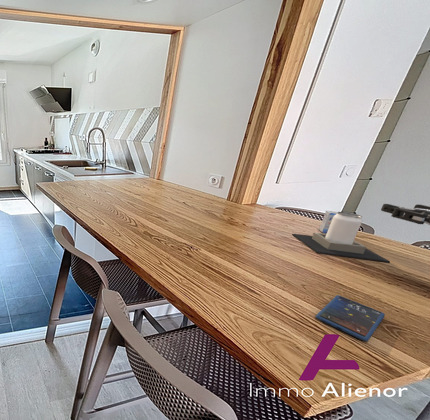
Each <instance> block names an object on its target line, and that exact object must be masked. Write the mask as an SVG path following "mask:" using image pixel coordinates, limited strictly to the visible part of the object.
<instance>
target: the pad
mask: <svg viewBox="0 0 430 420" xmlns="http://www.w3.org/2000/svg"><path fill="white" fill-rule="evenodd" d="M291 236H293V237H294V238H295V239H297V240H298V241H299V242H301V243H303V244H304V245H305V246H307V247H308V248H309V249H311V250H312V251H313V252H314V253H316V254H319V255H326V256H327V255H328V256H335V257H342V258H349V259H350V258H351V259H358V260H365V261H372V262H378V263H379V262H380V263H387V264H390V263H391V261H390V260H389V259H387V258H385V257H383V256H382V255H380V254H377V253H376V252H374V251H372V250H370V249H368V248H367V246H366V245H363V244H362V243H360V242H358V241H357V240H354V241H353V243H352V244H343V243H335V242H331V241H329V240H328V239H326V238H325V236H326V233H322V232H313V235H309V234H300V233H299V234H298V233H292V234H291Z"/></svg>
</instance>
